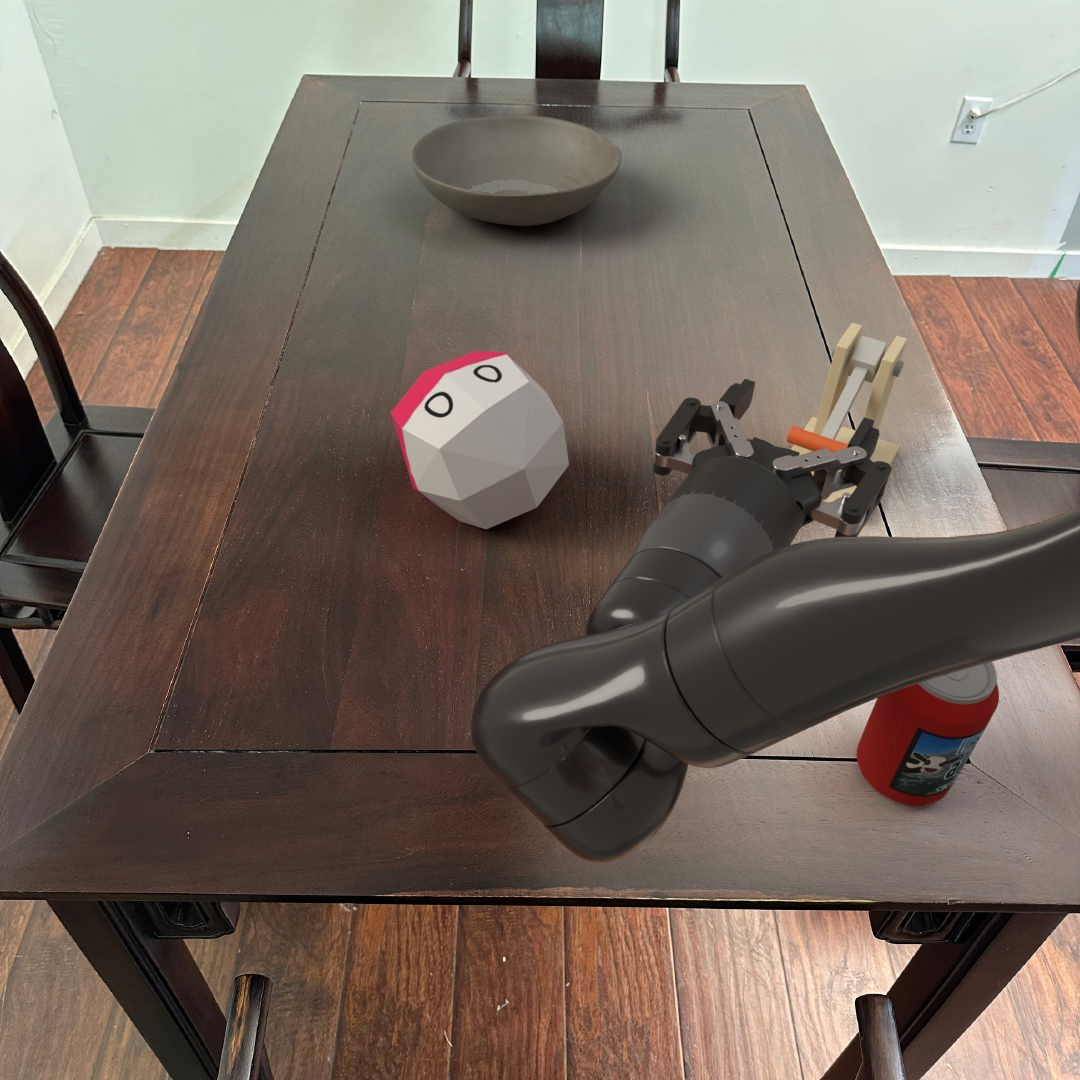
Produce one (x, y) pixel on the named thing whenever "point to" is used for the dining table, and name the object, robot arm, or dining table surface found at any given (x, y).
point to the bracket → (877, 402)
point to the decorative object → (481, 438)
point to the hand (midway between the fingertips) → (806, 409)
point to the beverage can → (926, 734)
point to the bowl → (515, 166)
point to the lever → (844, 397)
